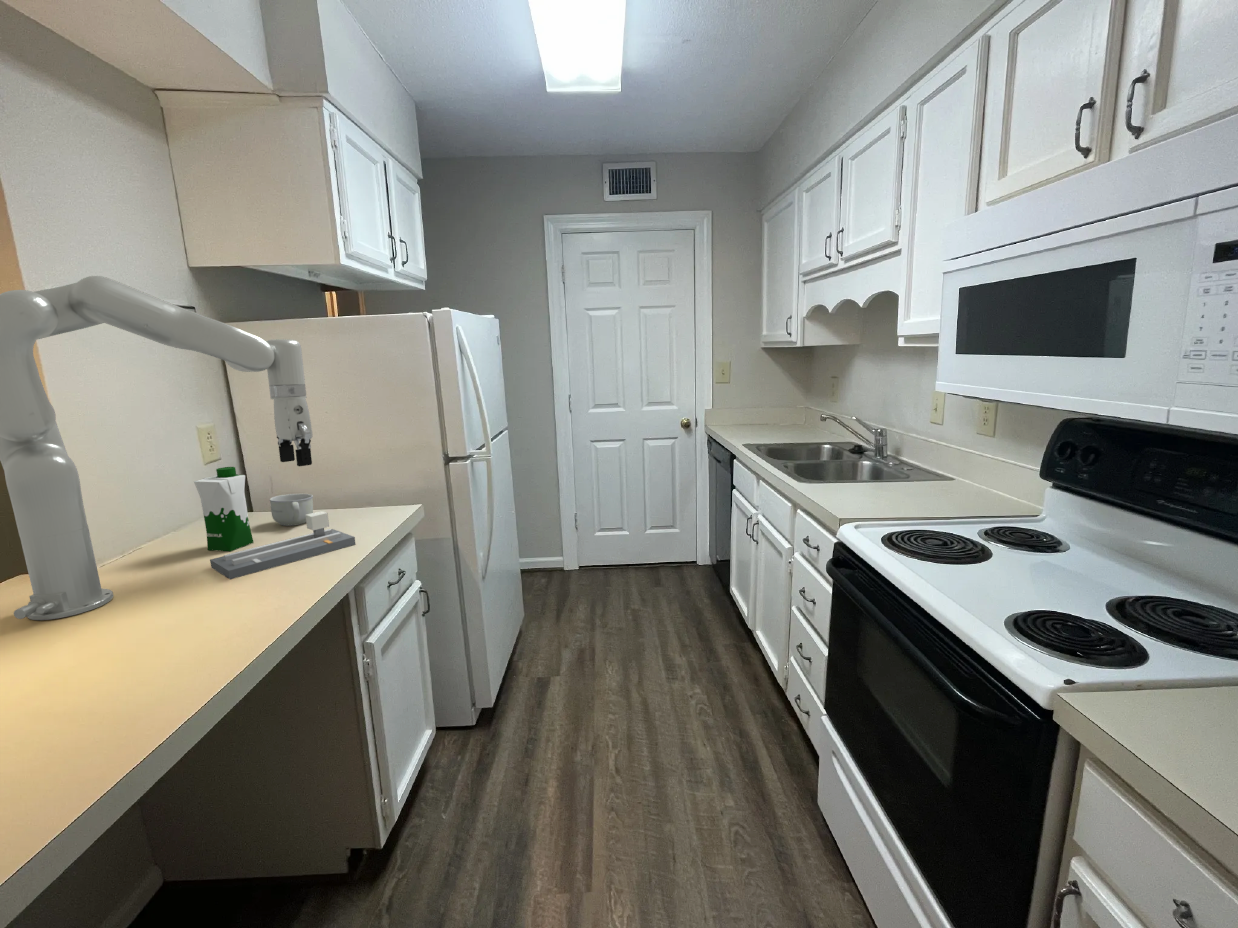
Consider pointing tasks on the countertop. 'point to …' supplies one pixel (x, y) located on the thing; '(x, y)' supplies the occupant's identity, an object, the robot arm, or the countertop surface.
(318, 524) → the fader
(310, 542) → the fader panel
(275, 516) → the teacup
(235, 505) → the milk carton
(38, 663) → the countertop surface
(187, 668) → the countertop surface
